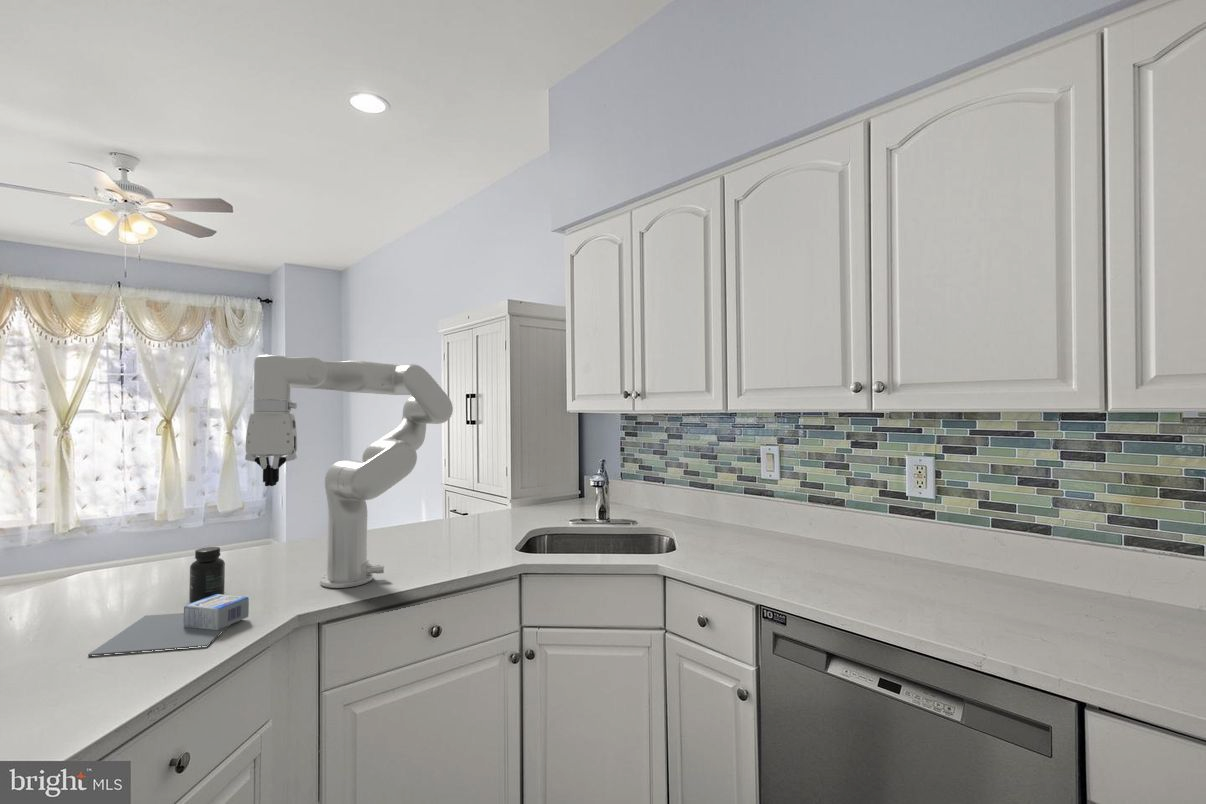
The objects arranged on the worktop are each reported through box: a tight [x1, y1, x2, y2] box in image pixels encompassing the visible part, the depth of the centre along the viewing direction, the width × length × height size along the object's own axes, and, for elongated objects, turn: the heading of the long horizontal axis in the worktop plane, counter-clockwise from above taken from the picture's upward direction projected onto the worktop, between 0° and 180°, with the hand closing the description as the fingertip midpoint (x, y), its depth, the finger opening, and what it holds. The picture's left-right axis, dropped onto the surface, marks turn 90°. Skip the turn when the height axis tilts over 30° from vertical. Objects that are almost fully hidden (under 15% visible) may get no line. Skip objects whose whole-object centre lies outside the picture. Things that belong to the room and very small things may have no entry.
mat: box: [87, 612, 230, 657], centre depth 118 cm, size 19×20×1 cm
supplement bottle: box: [188, 546, 226, 604], centre depth 137 cm, size 7×7×12 cm
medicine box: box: [183, 594, 250, 630], centre depth 122 cm, size 8×4×9 cm
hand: (270, 485), depth 138 cm, fingers closed
